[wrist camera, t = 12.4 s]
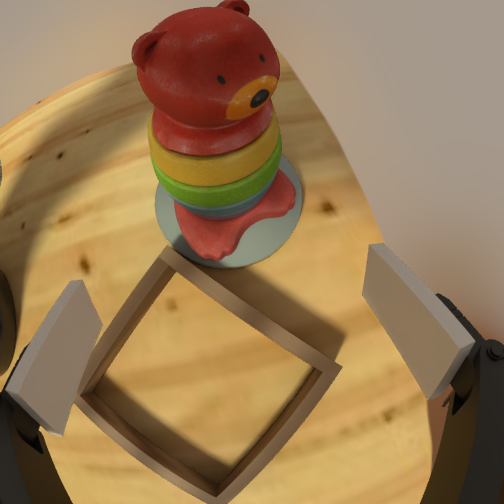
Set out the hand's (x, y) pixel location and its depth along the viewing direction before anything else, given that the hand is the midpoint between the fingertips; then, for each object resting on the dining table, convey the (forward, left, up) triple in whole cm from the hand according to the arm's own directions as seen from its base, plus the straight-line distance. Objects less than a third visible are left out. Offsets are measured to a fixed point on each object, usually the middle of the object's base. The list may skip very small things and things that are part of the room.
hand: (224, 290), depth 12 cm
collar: (+1, -8, -12) cm, 15 cm away
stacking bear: (-7, +8, -11) cm, 16 cm away
